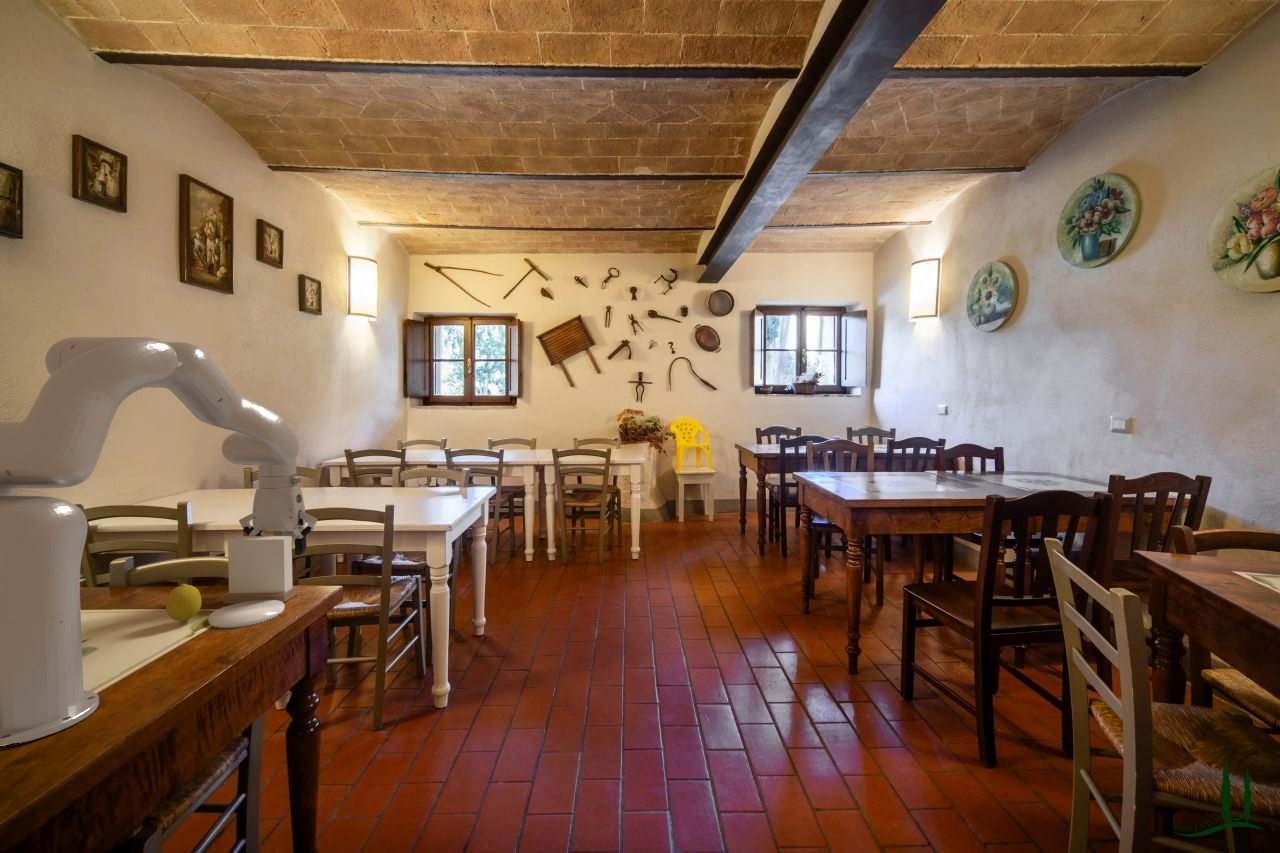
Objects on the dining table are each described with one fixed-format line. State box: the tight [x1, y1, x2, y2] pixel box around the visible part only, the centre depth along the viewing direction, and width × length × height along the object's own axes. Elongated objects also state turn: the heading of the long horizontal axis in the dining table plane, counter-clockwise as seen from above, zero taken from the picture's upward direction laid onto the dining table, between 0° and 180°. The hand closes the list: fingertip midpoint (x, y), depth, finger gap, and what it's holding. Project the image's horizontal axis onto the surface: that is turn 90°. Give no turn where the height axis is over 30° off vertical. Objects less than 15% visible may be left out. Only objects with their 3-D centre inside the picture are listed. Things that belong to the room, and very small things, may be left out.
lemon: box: [165, 583, 202, 624], centre depth 111 cm, size 6×6×8 cm
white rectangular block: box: [223, 535, 298, 604], centre depth 125 cm, size 5×13×14 cm, turn 93°
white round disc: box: [207, 600, 286, 629], centre depth 116 cm, size 13×13×1 cm
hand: (279, 553), depth 132 cm, fingers open, 9 cm apart
